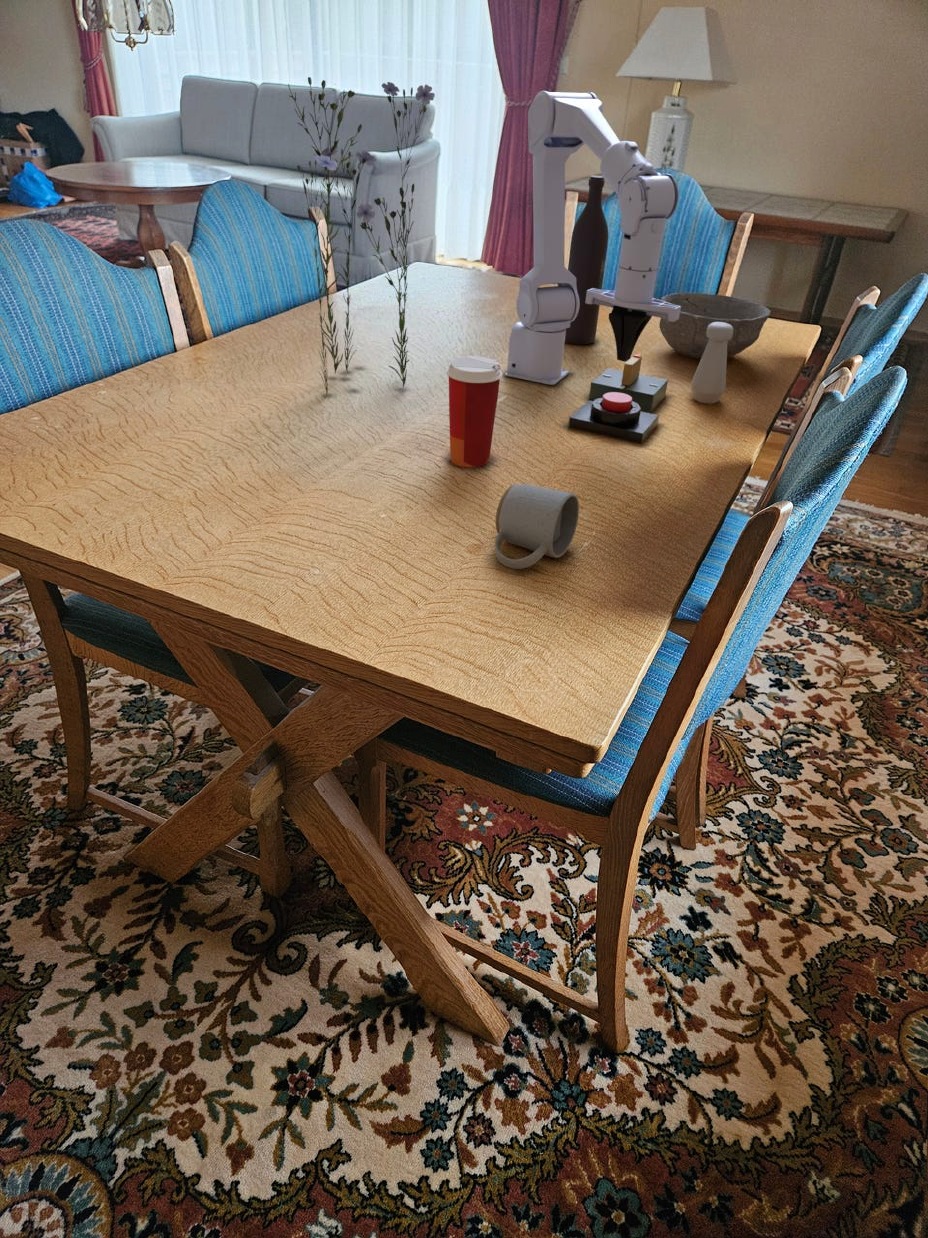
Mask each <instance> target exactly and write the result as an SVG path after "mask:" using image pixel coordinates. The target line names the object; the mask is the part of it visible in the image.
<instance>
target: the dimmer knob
mask: <svg viewBox="0 0 928 1238" xmlns="http://www.w3.org/2000/svg"><path fill="white" fill-rule="evenodd" d="M642 360H643V356H642V354H638V353H635V354H633V355H632V356H631V358H630V359H629V360H627V361H625V362H624V365H623V370H622V371H623V377H622V383H621V384H622V385H627V386H630V385H631V384H632V383H633V382H634V381H635V380H636V379H637V378H638V377H639V374H640V371H641V365H642Z"/></svg>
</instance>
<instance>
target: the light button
mask: <svg viewBox="0 0 928 1238" xmlns="http://www.w3.org/2000/svg"><path fill="white" fill-rule="evenodd" d="M631 405H632V397H631V396H629V395H627V394H624V393H619V392H609V393H605V394H604V395H603V399H602V407H603V408H605V409H607V410H612V411H629V410H631Z"/></svg>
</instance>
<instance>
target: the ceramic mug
mask: <svg viewBox="0 0 928 1238" xmlns="http://www.w3.org/2000/svg"><path fill="white" fill-rule="evenodd" d="M579 515H580V502H579V499H578V497H577V495H576V494H575V493H573V492H569V491H562V490H558V489H553V488H547V487H542V486H537V485H532V484H527V483H515V484H511V486H509V487H508V488H506V490H505V491H504V493H503V494H502V495H501V497H500V499H499V501H498V505H497V507H496V512H495V529H496V532H497V535H496V537H495V540H494V543H493V547H494V553H495V556H496V559H497V560H498V562H499V563H500V564H502V565H503V566H505V567H506V568H509V569H513V570H523V569H526V568H529V567H532V566H533V565H535V564H536V563H538V562H539V560H541V559H542V558H543V556H546V557H547V556H548V557H550V558H555V559H558V558H561V557H562V556H563V555H565V553H566V552H567V551H568V549H569V548H570V546H571V544H572V542H573V539H574V537H575V535H576V532H577V531H576V530H577V527H578V522H579V517H580V516H579ZM504 541H506V542H507V543H509V544H512V545H514V546H515V545H516V546H518V547H522V548H524V549H527V550H530V551H533V552H532V553H530V554H529V555H528V556H525V557H521V558H516V559H512V558H508V557H507V556H506V555H505V554H504V553H502V551H501V550H500V549H501V546H502V544H503V542H504Z"/></svg>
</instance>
